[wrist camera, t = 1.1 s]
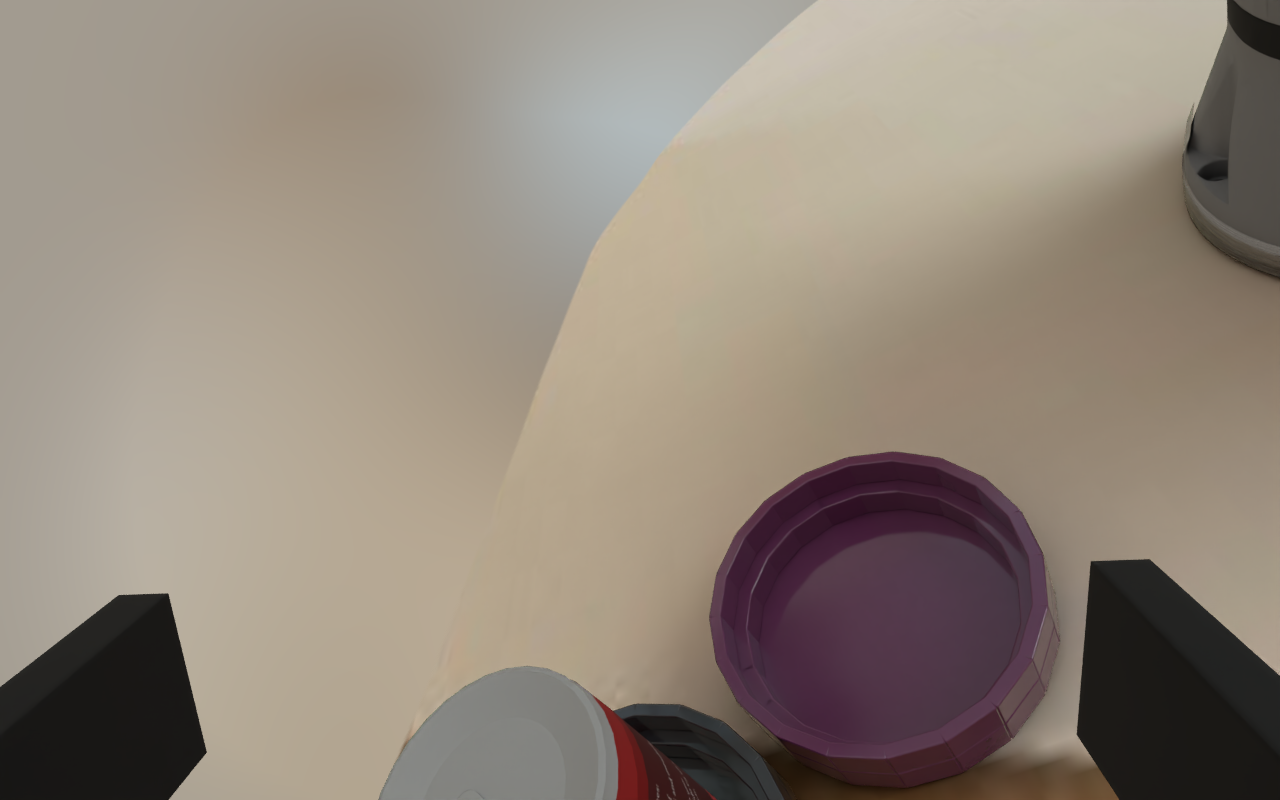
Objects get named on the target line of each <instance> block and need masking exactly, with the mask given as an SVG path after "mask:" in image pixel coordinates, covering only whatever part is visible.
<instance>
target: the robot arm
mask: <svg viewBox="0 0 1280 800" xmlns="http://www.w3.org/2000/svg"><path fill="white" fill-rule="evenodd" d="M1193 108H1194V104H1193V106H1192V109H1191V112H1190V115H1189V117H1188V120H1187V127H1186V134H1185V141H1184V149H1183V158H1182V170H1183V184H1184V196H1185V203H1186V206H1187V209H1188V212H1189V214H1190V216H1191V218H1192V220H1193V222H1194V224H1195V225H1196V226H1197V228H1198V229H1199V230H1200V232H1201V233H1202V234H1203V235H1204V236H1205V237H1206V238H1207V239H1208V240H1209V241H1210V242H1211V243H1212V244H1214V245H1215V246H1216V247H1217V248H1219V249H1220V250H1221V251H1223V252H1224V253H1226V254H1228V255H1229V256H1231V257H1232V258H1234V259H1236V260H1238V261H1240V262H1242V263H1244V264H1246V265H1248V266H1250V267H1252V268H1255V269H1258V270H1260V271H1263V272H1265V273H1268V274H1271V275H1274V276H1278V277H1280V0H1227V29H1226V32H1225V35H1224V37H1223V40H1222V43H1221V46H1220V48H1219V51H1218V54H1217V56H1216V59H1215V62H1214V64H1213V67H1212V70H1211V73H1210V75H1209V78H1208V81H1207V83H1206V86H1205V89H1204V91H1203V94H1202V97H1201V99H1200V102H1199V105H1198V108H1197V110H1196V113H1195V116H1194V118H1193V121H1192V115H1193ZM1191 123H1192V124H1191ZM1077 736H1078V737H1079V739H1080V740H1081V742H1082V743H1083V745H1084V746H1085V748H1086V749H1087V751H1088V752H1089V754H1090V755H1091V757H1092V758H1093V760H1094V762H1095V763H1096V765H1097V766H1098V768H1099V769H1100V771H1101V772H1102V774H1103V775H1104V777H1105V778H1106V780H1107V781H1108V783H1109V784H1110V786H1111V787H1112V789H1113V790H1114V792H1115V793H1116V795H1117V796H1118V798H1119V800H1280V676H1279V675H1278V674H1277V673H1276V672H1275V671H1274V670H1273V669H1272V668H1270V667H1269V666H1268V665H1267V664H1266V663H1265V662H1264V661H1263V660H1261V659H1260V658H1259V657H1258V656H1257V655H1256V654H1255V653H1254V652H1253V651H1251V650H1250V649H1249V648H1248V647H1247V646H1246V645H1245V644H1244V643H1242V642H1241V641H1240V640H1239V639H1238V638H1237V637H1236V636H1235V635H1234V634H1232V633H1231V632H1230V631H1229V630H1228V629H1227V628H1226V627H1225V626H1223V625H1222V624H1221V623H1220V622H1219V621H1218V620H1217V619H1216V618H1215V617H1213V616H1212V615H1211V614H1210V613H1209V612H1208V611H1207V610H1206V609H1204V608H1203V607H1202V606H1201V605H1200V604H1199V603H1198V602H1197V601H1196V600H1194V599H1193V598H1192V597H1191V596H1190V595H1189V594H1188V593H1187V592H1185V591H1184V590H1183V589H1182V588H1181V587H1180V586H1179V585H1178V584H1177V583H1175V582H1174V581H1173V580H1172V579H1171V578H1170V577H1169V576H1168V575H1166V574H1165V573H1164V572H1163V571H1162V570H1161V569H1160V568H1159V567H1158V566H1156V565H1155V564H1154V563H1153V562H1152V561H1151V560H1150V559H1144V560H1115V561H1091V566H1090V578H1089V590H1088V603H1087V615H1086V627H1085V640H1084V652H1083V665H1082V677H1081V689H1080V702H1079V714H1078V726H1077ZM206 753H207V752H206V748H205V743H204V739H203V735H202V731H201V727H200V723H199V719H198V714H197V710H196V706H195V702H194V698H193V694H192V690H191V686H190V681H189V677H188V673H187V669H186V665H185V661H184V657H183V653H182V648H181V644H180V640H179V636H178V632H177V628H176V623H175V619H174V615H173V611H172V607H171V603H170V599H169V594H140V595H139V594H138V595H119V596H117V597H116V598H114V599H113V600H112V601H111V602H109V603H108V604H107V605H105V606H104V607H103V608H102V609H100V610H99V611H98V612H96V614H94V615H93V616H91V617H90V618H89V619H87V620H86V621H85V622H84V623H82V624H81V625H80V626H79V627H77V628H76V629H75V630H73V631H72V632H71V633H69V634H68V635H67V636H65V637H64V638H63V639H62V640H60V641H59V642H58V643H57V644H55V645H54V646H53V647H51V648H50V649H49V650H47V651H46V652H45V653H44V654H42V655H41V656H40V657H38V658H37V659H36V660H35V661H34V662H32V663H31V664H29V665H28V666H27V667H25V668H24V669H23V670H22V671H20V672H19V673H18V674H16V675H15V676H14V677H13V678H11V679H10V680H9V681H7V682H6V683H5V684H4V685H2V686H1V687H0V800H169V798H170V797H171V796H172V795H173V793H174V792H175V791H176V790H177V788H178V787H179V786H180V785H181V783H182V782H183V781H184V780H185V779H186V777H187V776H188V775H189V774H190V772H191V771H192V770H193V769H194V767H195V766H196V765H197V763H199V761H200V760H201V759H202V758H203V756H204V755H205V754H206Z"/></svg>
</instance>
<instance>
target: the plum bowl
mask: <svg viewBox="0 0 1280 800" xmlns="http://www.w3.org/2000/svg"><path fill="white" fill-rule="evenodd" d="M709 618H710V619H709V620H710V627H711V633H712V639H713V646H714V652H715V658H716V662H717V665H718V667H719V669H720V671H721V673H722V674H723V676H724V678H725V680H726V682H727V684H728V685H729V687H730V689H731V691H732V693H733V695H734V697H735V698H736V700H737V702H738V703H739V704H740V706H741V707H742V708H743V709H744V710H745V711H746V712H747V713H748V714H749V715H750V716H751V717H752V718H753V719H754V721H755V722H756V723H757V724H758V725H759V726H760V727H761V728H762V729H763V730H764V731H765V732H766V733H767V734H768V735H769V736H770V737H772V738H773V739H774V740H775V741H776V742H777V743H778V744H779V745H781V746H782V747H783V748H784V749H785V750H786V751H787V752H788V753H790V754H791V755H792V756H793V757H794V758H795V759H796V760H797V761H799V762H800V763H802V764H803V765H805V766H807V767H810V768H812V769H814V770H817V771H819V772H822V773H824V774H827V775H829V776H832V777H834V778H836V779H839V780H841V781H844V782H846V783H849V784H852V785H866V786H883V787H899V788H907V787H913V786H916V785H920V784H924V783H927V782H931V781H935V780H938V779H942V778H946V777H949V776H953V775H957V774H960V773H963V771H966V770H968V769H969V768H971V767H972V766H974V765H975V764H977V763H978V762H980V761H981V760H983V759H984V758H986V757H987V756H989V755H990V754H992V753H993V752H995V751H996V750H997V749H999V748H1000V747H1002V746H1003V745H1005V744H1006V743H1008V742H1009V741H1011V738H1014V737H1015V735H1016V734H1017V733H1018V731H1019V730H1020V728H1021V727H1022V726H1023V724H1024V723H1025V722H1026V720H1027V719H1028V717H1029V716H1030V715H1031V713H1032V712H1033V711H1034V709H1035V708H1036V706H1037V705H1038V704H1039V702H1040V701H1041V700H1042V698H1043V697H1044V696H1045V692H1046V691H1047V687H1048V684H1049V680H1050V677H1051V673H1052V669H1053V666H1054V662H1055V658H1056V655H1057V651H1058V648H1059V642H1060V635H1059V625H1058V615H1057V606H1056V596H1055V591H1054V587H1053V584H1052V581H1051V578H1050V575H1049V571H1048V568H1047V565H1046V562H1045V558H1044V555H1043V552H1042V551H1041V549H1040V547H1039V545H1038V543H1037V541H1036V539H1035V537H1034V535H1033V533H1032V531H1031V529H1030V527H1029V525H1028V523H1027V521H1026V519H1025V517H1024V515H1023V514H1022V512H1021V511H1020V509H1019V508H1018V507H1017V506H1015V505H1014V504H1013V503H1012V502H1011V501H1010V500H1009V499H1008V498H1007V497H1006V496H1005V495H1003V494H1002V493H1001V492H1000V491H999V490H998V489H997V488H996V487H995V486H994V485H992V484H991V483H990V482H989V481H988V480H987V479H986V478H984V477H982V476H980V475H978V474H976V473H973V472H971V471H969V470H967V469H965V468H962V467H960V466H958V465H956V464H953V463H951V462H949V461H947V460H944V459H942V458H938V457H931V456H924V455H916V454H909V453H902V452H885V453H877V454H869V455H861V456H853V457H848V458H844V459H841V460H838V461H836V462H833V463H830V464H828V465H825V466H823V467H820V468H817V469H815V470H812V471H810V472H807V473H805V474H804V475H801V476H800V477H798V478H797V479H795V480H794V481H792V482H791V483H789V484H788V485H787V486H785V487H784V488H782V489H781V490H779V491H778V492H776V493H775V494H774V495H772V496H771V497H769V498H768V499H767V500H765V501H764V502H763V503H762V505H761V506H760V507H759V508H758V509H757V510H756V511H755V513H754V514H753V515H752V516H751V517H750V518H749V519H748V521H747V522H746V523H745V524H744V525H743V526H742V527H741V529H740V530H739V531H738V532H737V533H736V535H735V537H734V539H733V541H732V543H731V545H730V547H729V549H728V551H727V553H726V555H725V557H724V559H723V561H722V563H721V565H720V568H719V570H718V572H717V575H716V579H715V585H714V591H713V597H712V603H711V609H710V615H709Z"/></svg>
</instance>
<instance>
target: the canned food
mask: <svg viewBox="0 0 1280 800" xmlns="http://www.w3.org/2000/svg"><path fill="white" fill-rule="evenodd" d="M378 800H717V799H716V798H715V797H714V796H712V795H711V794H710V793H709V792H708V791H707V790H705V789H704V788H703V787H702V786H701V785H699V784H698V783H697V782H696V781H695V780H694V779H692V778H691V777H690V776H689V775H688V774H686V773H685V772H684V771H683V770H682V769H681V768H679V767H678V766H677V765H676V764H675V763H674V762H672V761H671V760H670V759H669V758H668V757H666V756H665V755H664V754H663V753H662V752H661V751H659V750H658V749H657V748H656V747H655V746H653V745H652V744H651V743H650V742H649V741H648V740H646V739H645V738H644V737H643V736H642V735H641V734H639V733H638V732H637V731H636V730H635V729H633V728H632V727H631V726H630V725H629V724H628V723H626V722H625V721H624V720H623V719H622V718H621V717H619V716H618V715H617V714H616V713H615V712H613V711H612V710H611V709H610V708H609V707H607V706H606V705H605V704H604V703H602V702H601V701H600V700H598V699H597V698H596V697H595V696H593V695H592V694H591V693H589V692H588V691H587V690H586V689H584V688H583V687H582V686H580V685H579V684H578V683H577V682H575V681H573V680H570V679H568V678H567V677H566V676H564V675H562V674H559V673H557V672H555V671H552V670H550V669H547V668H540V667H531V666H523V667H514V668H506V669H503V670H500V671H497V672H494V673H491V674H488V675H485V676H483V677H482V678H480V679H478V680H476V681H474V682H472V683H470V684H469V685H467V686H465V687H463V688H462V689H461V690H459V691H458V692H457V693H455V694H454V695H453V696H451V697H450V698H449V699H447V700H446V701H445V702H444V703H443V704H442V705H441V706H440V707H439V708H438V709H436V710H435V711H434V712H433V713H432V714H431V715H430V716H429V717H428V718H427V719H426V720H425V722H424V723H423V724H422V725H421V727H420V728H419V729H418V730H417V732H416V733H415V734H414V735H413V737H412V738H411V739H410V740H409V742H408V743H407V745H406V746H405V748H404V750H403V751H402V753H401V754H400V756H399V758H398V759H397V761H396V762H395V764H394V766H393V768H392V770H391V772H390V774H389V776H388V778H387V780H386V783H385V785H384V787H383V789H382V791H381V793H380V796H379V799H378Z"/></svg>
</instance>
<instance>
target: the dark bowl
mask: <svg viewBox="0 0 1280 800" xmlns="http://www.w3.org/2000/svg"><path fill="white" fill-rule="evenodd" d="M613 712H615V713H616V714H617V715H618V716H619V717H621V718H622V719H623V720H624V721H625V722H626V723H628V724H629V725H630V726H631V727H632V728H633V729H635V730H636V731H637V732H638V733H639V734H641V735H642V736H643V737H644V738H645V739H646V740H648V741H649V742H650V743H651V744H652V745H653V746H655V747H656V748H657V749H658V750H659V751H661V752H662V753H663V754H664V755H665V756H666V757H668V758H669V759H670V760H671V761H672V762H674V763H675V764H676V765H677V766H678V767H679V768H681V769H682V770H683V771H684V772H685V773H686V774H688V775H689V776H690V777H691V778H692V779H694V780H695V781H696V782H697V783H698V784H699V785H701V786H702V787H703V788H704V789H705V790H707V791H708V792H709V793H710V794H711V795H712V796H714V797H715V798H716V799H717V800H797V798H796V796H795V794H794V793H793V791H792V789H791V787H790V785H789V784H788V783H787V781H786V780H785V779H784V778H783V777H782V776H781V775H780V774H779V773H778V772H777V771H776V770H775V769H774V768H773V767H772V766H771V765H770V764H769V763H768V762H767V761H766V760H765V759H764V758H763V757H762V756H761V755H760V754H759V753H758V752H757V751H755V750H754V749H753V748H752V747H751V746H750V745H749V744H748V743H747V742H746V741H745V740H743V739H742V738H741V737H740V736H739V735H738V734H737V733H736V732H735V731H734V730H733V729H732V728H730V727H729V726H728V725H727V724H726V723H724V722H723V721H721V720H719V719H716V718H714V717H711V716H709V715H706V714H704V713H701V712H699V711H696V710H694V709H691V708H689V707H686V706H684V705H680V704H633V705H630V706H627V707H624V708H621V709H618V710H614V711H613Z"/></svg>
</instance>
